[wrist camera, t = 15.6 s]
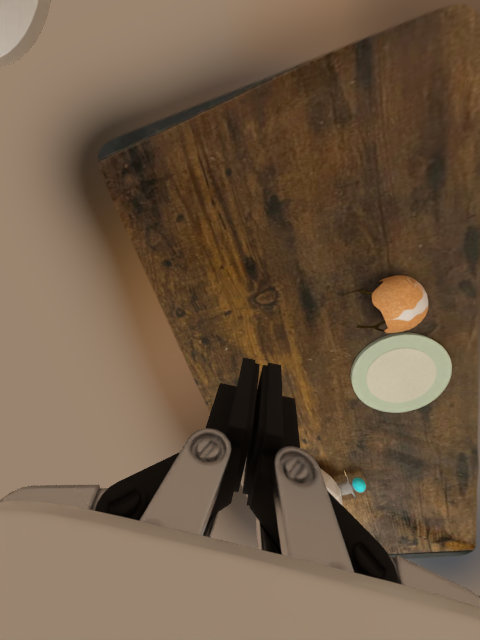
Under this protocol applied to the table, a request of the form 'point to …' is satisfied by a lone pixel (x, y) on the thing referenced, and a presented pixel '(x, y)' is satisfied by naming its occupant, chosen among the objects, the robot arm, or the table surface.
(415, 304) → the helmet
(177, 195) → the table surface
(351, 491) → the perfume bottle
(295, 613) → the robot arm
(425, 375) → the plate
